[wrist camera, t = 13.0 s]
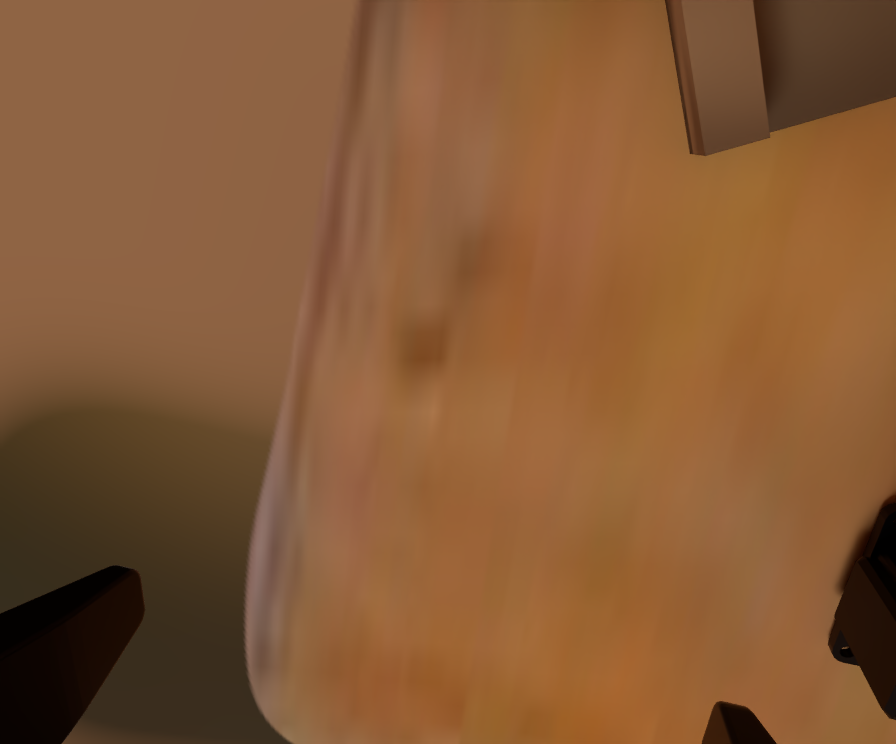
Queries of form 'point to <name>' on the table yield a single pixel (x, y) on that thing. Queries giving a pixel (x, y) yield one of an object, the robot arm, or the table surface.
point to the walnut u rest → (777, 64)
